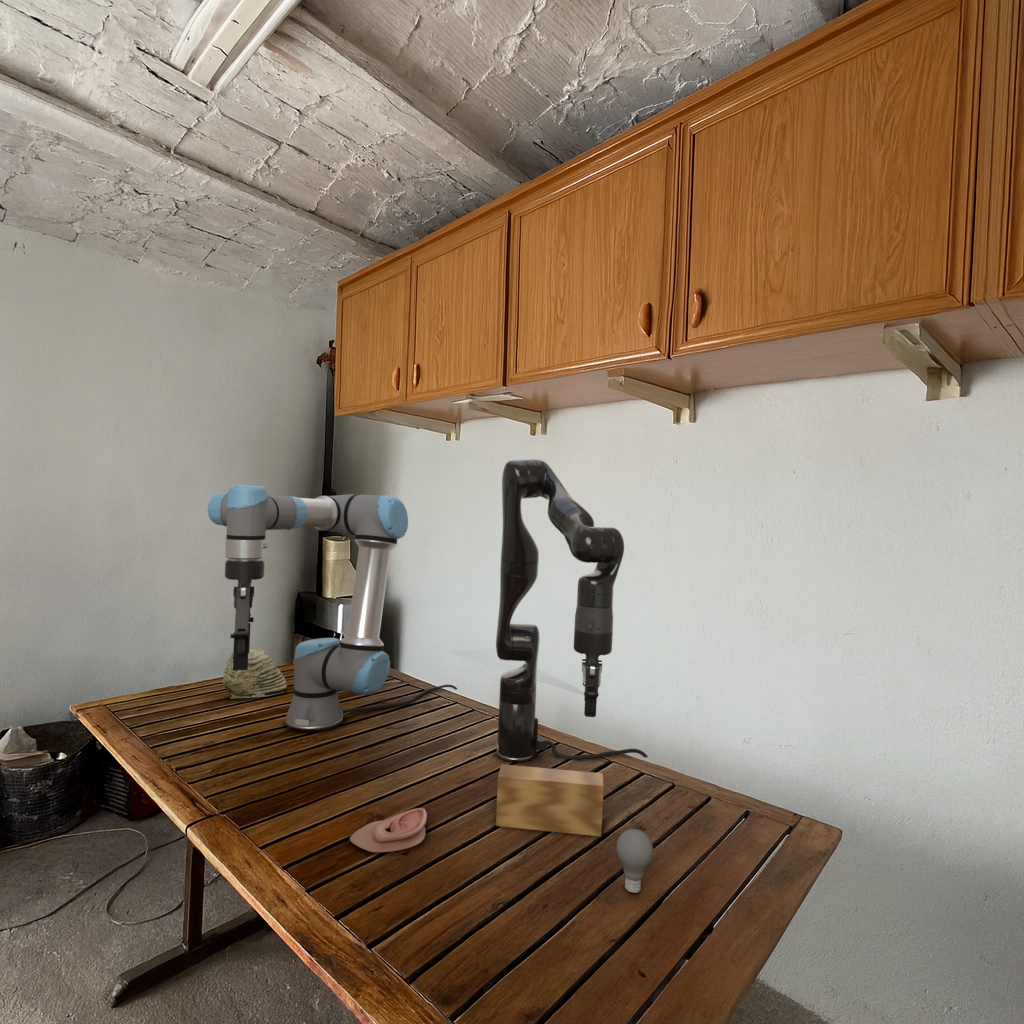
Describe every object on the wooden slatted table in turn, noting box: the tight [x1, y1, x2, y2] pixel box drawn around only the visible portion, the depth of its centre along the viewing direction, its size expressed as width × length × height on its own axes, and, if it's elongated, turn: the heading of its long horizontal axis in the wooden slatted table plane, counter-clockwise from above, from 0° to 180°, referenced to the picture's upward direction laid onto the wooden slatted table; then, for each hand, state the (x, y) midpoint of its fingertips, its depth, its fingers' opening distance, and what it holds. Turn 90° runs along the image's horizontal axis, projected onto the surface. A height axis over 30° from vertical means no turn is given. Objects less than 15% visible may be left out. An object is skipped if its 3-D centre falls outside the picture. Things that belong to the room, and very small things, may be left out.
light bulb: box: [615, 828, 654, 894], centre depth 106 cm, size 6×6×10 cm
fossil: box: [222, 647, 288, 699], centre depth 198 cm, size 9×18×15 cm, turn 132°
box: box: [495, 763, 605, 838], centre depth 127 cm, size 21×6×10 cm, turn 84°
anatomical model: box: [349, 807, 428, 853], centre depth 119 cm, size 13×4×12 cm
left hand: (241, 661), depth 132 cm, fingers open, 13 cm apart
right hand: (589, 709), depth 125 cm, fingers open, 8 cm apart
